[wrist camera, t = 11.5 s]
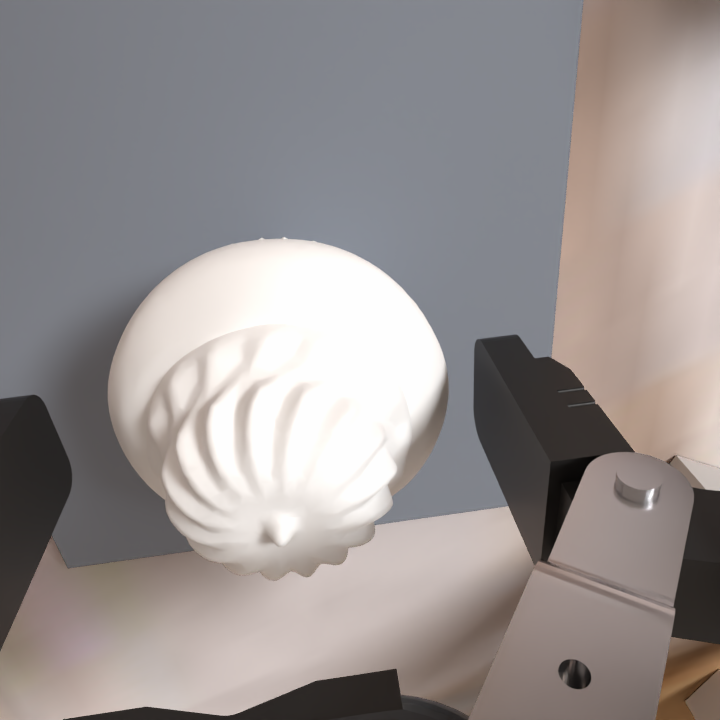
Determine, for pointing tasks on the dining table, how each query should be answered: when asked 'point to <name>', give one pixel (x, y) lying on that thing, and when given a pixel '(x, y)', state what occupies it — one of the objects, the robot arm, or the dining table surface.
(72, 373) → the rubber mat
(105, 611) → the dining table surface
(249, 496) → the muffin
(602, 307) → the dining table surface
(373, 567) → the dining table surface
